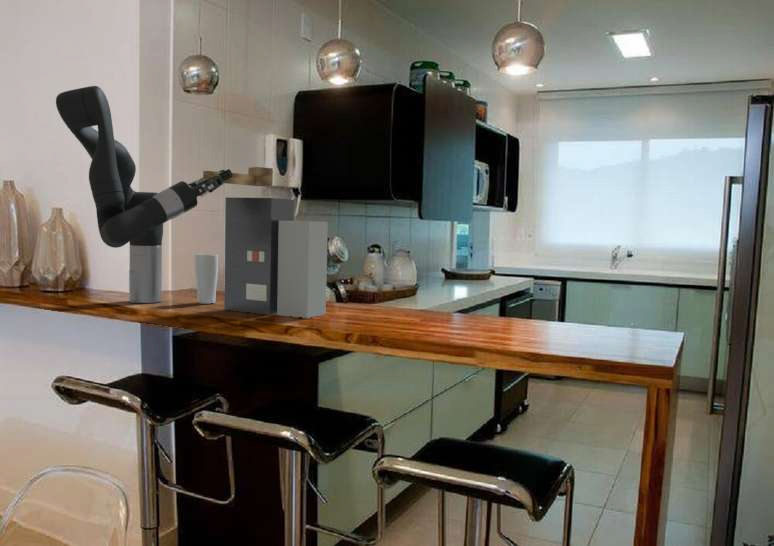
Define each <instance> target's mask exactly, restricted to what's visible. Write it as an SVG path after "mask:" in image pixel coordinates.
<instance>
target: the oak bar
mask: <svg viewBox="0 0 774 546" xmlns="http://www.w3.org/2000/svg"><path fill="white" fill-rule="evenodd" d="M202 173H203V174H202V175H203V177H202V178H203V179H205V178H207V177H211V178H212V177H213V176H215V175H218V174H220V173H222V172H219V171H214V170H213V171H212V170H204V171H202ZM273 173H274V170H273V168H272V167H260V166H253V167H248V172H247V173H239V172H237V173H236V172H232V174H233V176H232V177H231V178H229V179H227V180H225V181H223V183H224V184H228V185H241V186H242V185H243V186H251V187H273V182H274V181H273V180H274V179H273V176H274V174H273ZM207 181H208V180H207ZM208 182H209V181H208Z"/></svg>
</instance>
